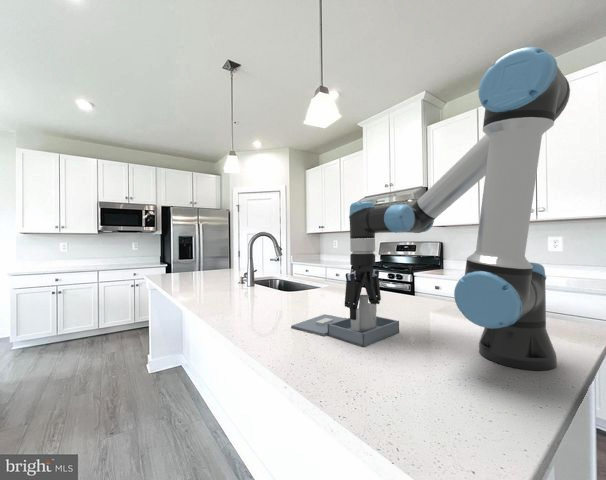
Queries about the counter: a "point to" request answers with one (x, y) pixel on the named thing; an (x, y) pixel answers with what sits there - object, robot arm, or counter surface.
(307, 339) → the counter surface
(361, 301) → the flask
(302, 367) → the counter surface
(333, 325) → the bin
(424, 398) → the counter surface
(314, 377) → the counter surface
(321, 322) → the bin lid
